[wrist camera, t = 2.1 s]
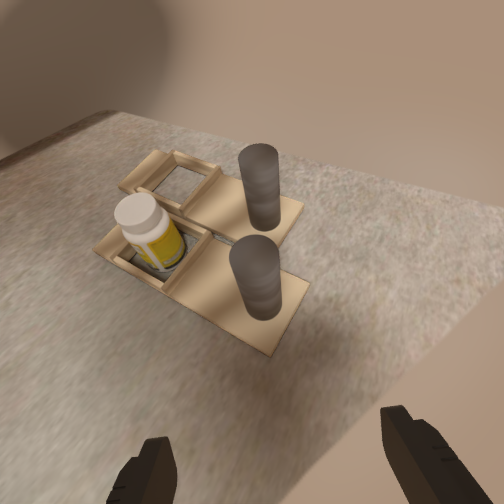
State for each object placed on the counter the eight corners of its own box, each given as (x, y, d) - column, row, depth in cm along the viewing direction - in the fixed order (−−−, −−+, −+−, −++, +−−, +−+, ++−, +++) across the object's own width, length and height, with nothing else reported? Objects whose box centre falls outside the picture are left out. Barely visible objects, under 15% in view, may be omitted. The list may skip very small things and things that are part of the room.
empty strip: (119, 189, 40) (75, 126, 32) (157, 153, 43) (126, 87, 35) (271, 259, 32) (264, 198, 23) (304, 208, 35) (308, 138, 27)
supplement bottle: (190, 237, 35) (164, 187, 28) (185, 272, 32) (155, 227, 25) (151, 239, 35) (116, 191, 28) (143, 274, 33) (103, 230, 26)
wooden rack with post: (95, 253, 35) (35, 197, 27) (140, 206, 38) (99, 144, 30) (270, 357, 26) (261, 323, 18) (309, 286, 30) (317, 229, 21)
